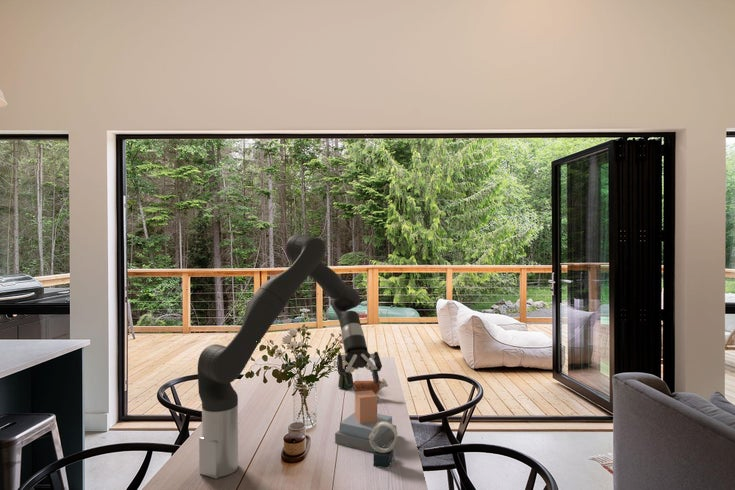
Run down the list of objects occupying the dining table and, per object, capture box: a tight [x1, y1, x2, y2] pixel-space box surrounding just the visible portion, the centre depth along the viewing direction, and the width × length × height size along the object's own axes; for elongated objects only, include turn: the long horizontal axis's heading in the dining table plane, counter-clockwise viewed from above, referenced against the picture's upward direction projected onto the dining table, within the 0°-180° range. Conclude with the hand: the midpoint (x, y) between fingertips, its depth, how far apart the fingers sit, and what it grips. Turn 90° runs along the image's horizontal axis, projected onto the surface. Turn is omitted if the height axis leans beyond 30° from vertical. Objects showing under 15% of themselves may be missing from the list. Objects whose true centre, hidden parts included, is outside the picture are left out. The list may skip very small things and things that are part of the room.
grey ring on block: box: [369, 421, 399, 468], centre depth 132 cm, size 6×8×11 cm
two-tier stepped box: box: [334, 412, 397, 454], centre depth 147 cm, size 14×14×6 cm
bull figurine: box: [352, 378, 389, 399], centre depth 182 cm, size 4×13×8 cm, turn 89°
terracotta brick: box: [354, 390, 378, 424], centre depth 146 cm, size 6×6×8 cm
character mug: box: [332, 353, 359, 390], centre depth 195 cm, size 11×7×13 cm, turn 74°
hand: (363, 383), depth 150 cm, fingers open, 8 cm apart
